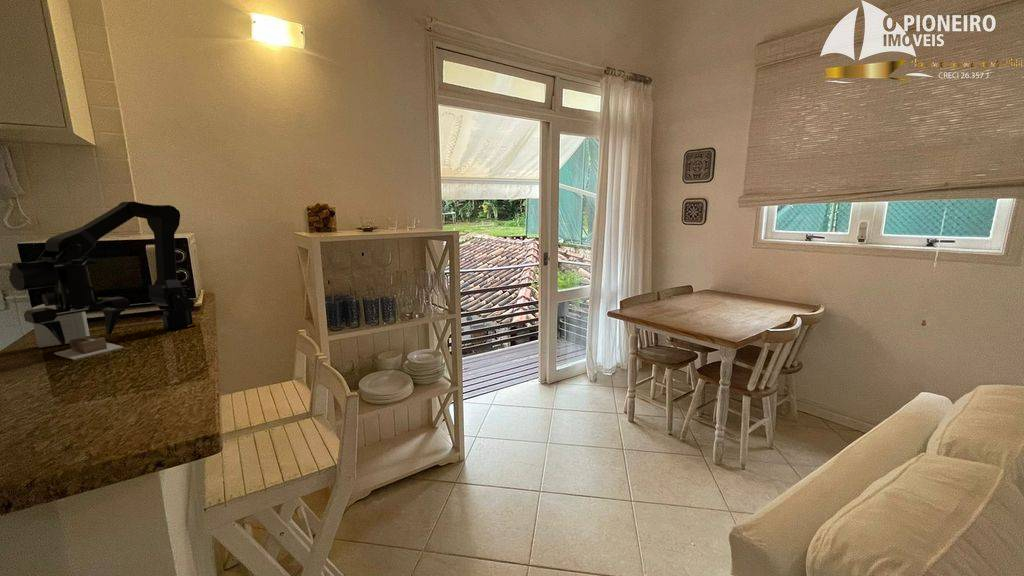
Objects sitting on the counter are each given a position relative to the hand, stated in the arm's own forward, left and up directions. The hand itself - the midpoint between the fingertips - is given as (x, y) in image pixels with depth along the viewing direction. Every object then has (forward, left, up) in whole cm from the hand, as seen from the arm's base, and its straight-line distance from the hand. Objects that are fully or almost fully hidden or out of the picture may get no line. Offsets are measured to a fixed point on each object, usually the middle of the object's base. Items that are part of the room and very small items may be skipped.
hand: (87, 339), depth 108 cm
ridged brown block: (0, 0, -3) cm, 3 cm away
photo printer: (0, -15, -4) cm, 16 cm away
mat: (0, 0, -3) cm, 3 cm away
